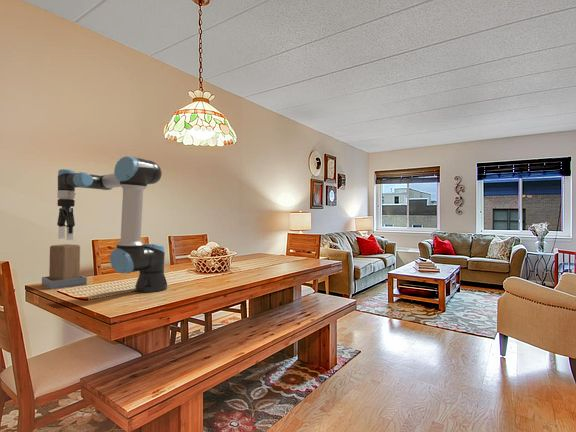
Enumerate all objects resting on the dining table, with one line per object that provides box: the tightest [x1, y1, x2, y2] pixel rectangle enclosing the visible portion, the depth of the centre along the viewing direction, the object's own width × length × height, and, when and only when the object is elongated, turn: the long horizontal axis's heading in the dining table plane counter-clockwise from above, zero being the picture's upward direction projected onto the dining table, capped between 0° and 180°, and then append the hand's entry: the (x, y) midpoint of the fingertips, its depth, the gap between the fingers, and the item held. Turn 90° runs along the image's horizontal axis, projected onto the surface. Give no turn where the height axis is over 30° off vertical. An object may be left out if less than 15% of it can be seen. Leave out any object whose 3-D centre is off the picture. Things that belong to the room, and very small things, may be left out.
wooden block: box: [48, 243, 81, 281], centre depth 173 cm, size 10×10×20 cm
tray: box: [41, 274, 88, 291], centre depth 173 cm, size 16×16×4 cm
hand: (65, 239), depth 173 cm, fingers open, 13 cm apart
